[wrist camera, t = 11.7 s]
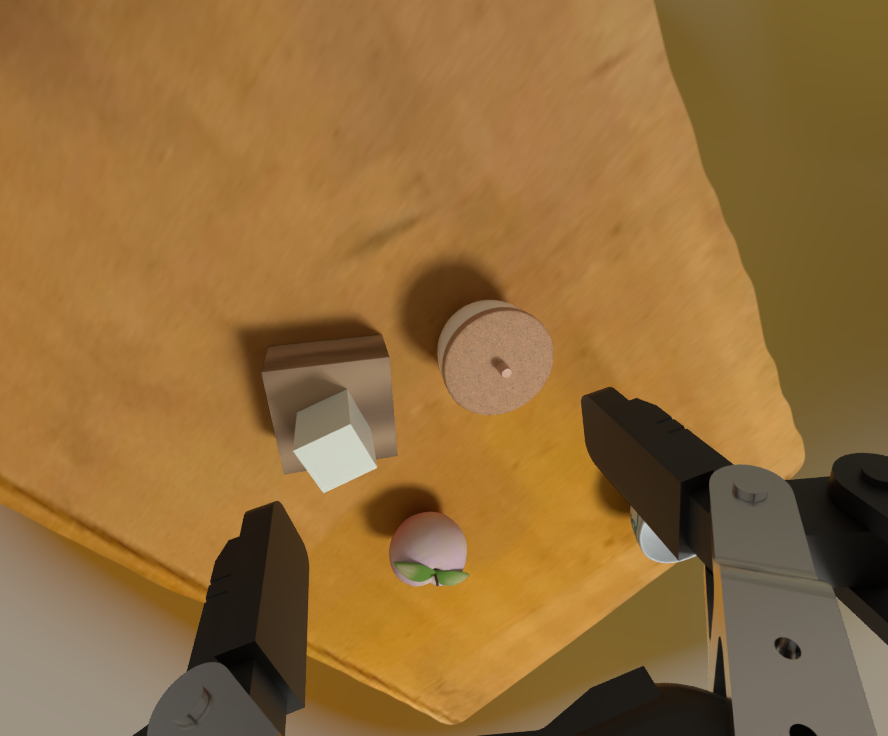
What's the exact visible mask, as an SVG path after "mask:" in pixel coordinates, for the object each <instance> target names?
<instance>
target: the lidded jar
mask: <svg viewBox="0 0 888 736" xmlns="http://www.w3.org/2000/svg"><path fill="white" fill-rule="evenodd" d="M438 363H439V368H440V371H441V374H442V377H443V379H444V383H445V385H446V387H447V389H448V391H449V393H450V395H451V396H452V398H453V399H454V400H455V401H456V402H457V403H458V404H459V405H460V406H462V407H463V408H465V409H466V410H468V411H471V412H473V413H477V414H482V415H498V414H503V413H507V412H510V411H513V410H515V409H517V408H519V407H521V406H522V405H524V404H525V403H527V402H528V401H530V400H531V399H532V398H533V397H534V396H535V395H536V394H537V393H538V392H539V391H540V390H541V388H542V387H543V385H544V384H545V382H546V380H547V378H548V376H549V374H550V371H551V368H552V363H553V344H552V340H551V337H550V335H549V333H548V331H547V329H546V328H545V327H544V325H543V324H542V323H541V322H540V321H539V320H537V319H536V318H535V317H534V316H533V315H531V314H529V313H527V312H525V311H524V310H522V309H520V308H519V307H517V306H515V305H513V304H510V303H507V302H504V301H498V300H481V301H477V302H473V303H470V304H468V305H466V306H464V307H462V308H461V309H459V310H458V311H457V312H456V313H454V314H453V315H452V316H451V317H450V319H449V320H448V321H447V323H446V324H445V326H444V328H443V330H442V332H441V335H440V337H439V342H438Z"/></svg>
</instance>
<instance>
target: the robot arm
mask: <svg viewBox="0 0 888 736" xmlns="http://www.w3.org/2000/svg"><path fill="white" fill-rule="evenodd" d="M581 406H582V416H583V425H584V435H585V443H586V447H587V450H588V453H589V455H590V457H591V459H592V461H593V462H594V464H595V465H596V466H597V467H598V468H599V470H600V471H601V472H602V473H603V474H604V475H605V476H606V478H607V479H608V480H609V481H610V482H611V483H612V485H613V486H614V487H615V488H616V489H617V490H618V492H619V493H620V494H621V495H622V496H623V497H624V498H625V500H626V501H627V502H628V503H629V504H630V505H631V507H632V508H633V509H634V510H635V511H636V512H637V513H638V515H639V516H640V517H641V518H642V519H643V520H644V522H645V523H646V524H647V525H648V526H649V527H650V528H651V530H652V531H653V532H654V533H655V534H656V535H657V537H658V538H659V539H660V540H661V541H662V542H663V544H664V545H665V546H666V547H667V548H668V549H669V550H670V552H671V553H672V554H673V555H674V556H675V557H676V559H677V560H678V561H679V560H682V559H684V558H687V557H689V556H692V555H695V554H696V555H697V556H698V557H699V559H700V560H701V561H702V562H703V563H704V571H703V573H704V589H705V590H704V591H705V608H706V626H707V644H708V691H707V690H704V689H700V688H697V687H694V686H688V685H682V684H676V683H654V682H653V680H652V679H651V677H650V675H649V674H648V672H647V670H646V669H645V667H644V666H642V667H640V668H637V669H635V670H632V671H630V672H628V673H625V674H623V675H621V676H618V677H616V678H614V679H611V680H609V681H607V682H604V683H602V684H599V685H597V686H594V687H592V688H590V689H589V690H588V691H587V692H586V693H584V694H583V695H582V696H581V697H580V698H579V699H578V700H576V701H575V702H574V703H573V704H572V705H570V706H569V707H568V708H567V709H566V710H565V711H563V712H562V713H561V714H560V715H559V716H558V717H556V718H555V719H554V720H553V721H552V722H551V723H550V724H548V725H547V726H546V727H544V728H542V729H540V730H536V731H526V732H514V733H503V734H492V735H482V736H877V733H876V729H875V726H874V723H873V719H872V716H871V712H870V709H869V706H868V702H867V699H866V696H865V692H864V689H863V686H862V682H861V679H860V676H859V672H858V669H857V666H856V662H855V659H854V656H853V652H852V649H851V646H850V642H849V639H848V636H847V632H846V629H845V626H844V622H843V619H842V615H841V612H840V609H839V605H838V602H837V599H836V597H837V598H838V599H839V600H840V601H842V602H843V603H844V604H845V605H846V606H847V607H848V608H849V609H850V610H851V611H852V612H853V613H854V614H856V616H858V617H859V618H860V619H861V620H862V621H863V622H864V623H865V624H866V625H867V626H868V627H869V628H870V629H871V630H872V631H873V632H874V633H875V634H877V635H878V636H879V637H880V638H881V639H882V640H883V641H884V642H885V643H886V644H887V645H888V456H884V455H879V454H871V453H855V454H849V455H845V456H842V457H840V458H839V459H837V460H836V461H835V462H834V464H833V467H832V471H831V475H830V477H818V478H807V479H795V480H784V479H782V478H781V477H780V476H778V475H777V474H775V473H773V472H771V471H769V470H766V469H763V468H760V467H756V466H751V465H734V464H732V463H731V462H730V461H728V460H727V459H726V458H724V457H723V456H722V455H720V454H719V453H718V452H717V451H715V450H714V449H713V448H711V447H710V446H709V445H707V444H706V443H705V442H704V441H702V440H701V439H700V438H698V437H697V436H696V435H694V434H693V433H692V432H691V431H689V430H688V429H685V428H684V426H683V425H681V424H680V423H679V422H677V421H676V420H675V419H674V420H673V419H672V417H671V416H670V415H668V414H667V413H666V412H664V411H663V410H662V409H661V408H659V407H658V406H657V405H654V404H651V403H649V402H646V401H643V400H640V399H638V398H635V399H632V400H628V399H626V398H625V397H624V396H623V395H622V394H620V393H619V392H618V391H617V390H615V389H614V388H612V387H607V388H604V389H601V390H598V391H596V392H593V393H590V394H587V395H584V396H583V397H582V399H581ZM210 582H211V585H209V588H208V592H207V595H206V603H204V607H203V611H202V615H201V619H200V622H199V626H198V631H197V634H196V638H195V642H194V646H193V649H192V653H191V657H190V661H189V665H188V669H187V672H186V673H184V674H183V675H182V676H180V677H179V678H178V679H177V680H176V681H175V682H174V683H173V684H172V685H171V686H170V687H169V688H168V689H167V691H166V692H165V693H164V694H163V696H162V697H161V698H160V700H159V702H158V703H157V705H156V707H155V709H154V711H153V713H152V715H151V718H150V721H149V724H148V725H147V726H145V727H144V728H143V729H141V730H140V731H139V732H137V733H136V734H134V735H133V736H285V724H286V715H287V714H289V713H292V712H294V711H296V710H299V709H302V708H304V707H305V683H306V652H307V620H308V588H309V561H308V555H307V551H306V548H305V545H304V543H303V541H302V539H301V537H300V536H299V534H298V532H297V530H296V528H295V527H294V525H293V523H292V521H291V519H290V518H289V516H288V514H287V512H286V510H285V509H284V507H283V505H282V504H281V503H280V502H279V501H275V502H272V503H269V504H266V505H264V506H261V507H258V508H255V509H252V510H249V511H247V512H246V513H245V515H244V518H243V523H242V527H241V532H240V537H237V538H234V539H231V540H229V541H228V542H227V544H226V545H225V547H224V548H223V550H222V552H221V553H220V555H219V556H218V558H217V559H216V561H215V565H214V568H213V572H212V576H211V580H210Z"/></svg>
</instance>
